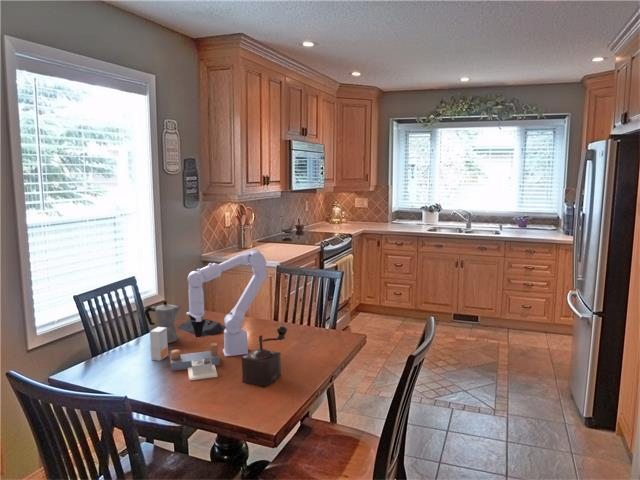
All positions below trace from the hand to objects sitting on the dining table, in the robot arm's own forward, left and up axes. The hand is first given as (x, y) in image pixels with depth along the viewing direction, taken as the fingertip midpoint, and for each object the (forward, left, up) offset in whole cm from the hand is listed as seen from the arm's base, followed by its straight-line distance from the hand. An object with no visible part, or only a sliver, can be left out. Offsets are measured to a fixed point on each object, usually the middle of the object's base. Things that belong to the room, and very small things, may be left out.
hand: (197, 333), depth 196 cm
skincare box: (+15, -3, -10) cm, 18 cm away
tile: (0, +18, -9) cm, 20 cm away
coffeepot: (+13, -24, -10) cm, 29 cm away
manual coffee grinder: (-22, +29, -10) cm, 37 cm away
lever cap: (0, +18, -9) cm, 20 cm away
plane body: (+2, +8, -9) cm, 12 cm away
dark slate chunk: (-4, -35, -10) cm, 37 cm away
